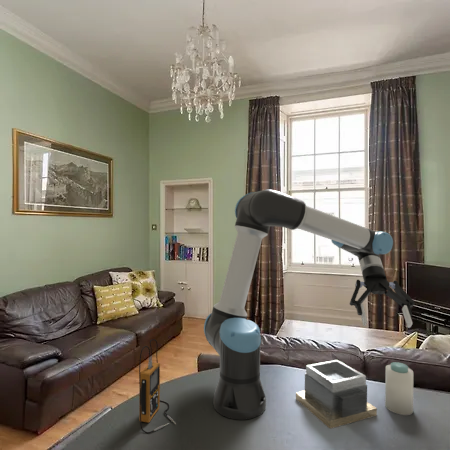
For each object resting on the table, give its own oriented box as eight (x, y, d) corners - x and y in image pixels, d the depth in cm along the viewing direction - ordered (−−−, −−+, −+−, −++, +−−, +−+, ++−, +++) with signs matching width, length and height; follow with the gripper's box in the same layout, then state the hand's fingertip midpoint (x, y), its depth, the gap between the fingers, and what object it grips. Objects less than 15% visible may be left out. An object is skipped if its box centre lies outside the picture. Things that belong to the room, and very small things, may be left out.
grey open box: (295, 399, 96) (296, 364, 96) (338, 389, 102) (338, 356, 102) (329, 428, 82) (330, 387, 82) (376, 415, 88) (377, 377, 88)
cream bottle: (379, 404, 94) (380, 362, 94) (397, 399, 97) (397, 358, 97) (400, 417, 87) (401, 372, 87) (418, 412, 90) (419, 368, 90)
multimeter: (169, 437, 78) (170, 355, 78) (131, 431, 80) (132, 352, 80) (188, 404, 93) (189, 335, 93) (156, 400, 95) (156, 332, 95)
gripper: (405, 277, 118) (425, 331, 104) (335, 276, 122) (345, 328, 107) (412, 265, 113) (433, 320, 98) (338, 264, 117) (348, 317, 102)
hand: (387, 324), depth 103 cm, fingers open, 13 cm apart
